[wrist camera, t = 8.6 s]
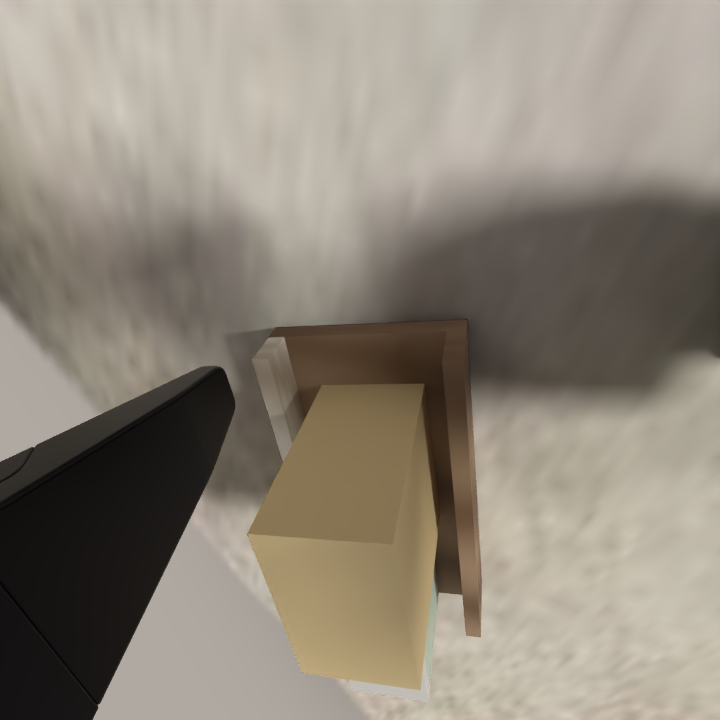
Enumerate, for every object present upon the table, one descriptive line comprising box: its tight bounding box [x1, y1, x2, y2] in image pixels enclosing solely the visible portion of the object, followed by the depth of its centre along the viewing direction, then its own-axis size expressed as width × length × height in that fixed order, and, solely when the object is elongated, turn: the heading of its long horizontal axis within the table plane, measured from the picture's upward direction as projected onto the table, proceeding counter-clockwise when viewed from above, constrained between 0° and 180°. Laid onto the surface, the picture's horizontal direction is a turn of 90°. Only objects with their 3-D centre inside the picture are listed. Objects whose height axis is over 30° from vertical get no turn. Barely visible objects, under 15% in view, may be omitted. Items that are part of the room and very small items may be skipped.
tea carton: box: [247, 384, 440, 690], centre depth 22 cm, size 8×5×9 cm, turn 9°
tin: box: [349, 564, 439, 702], centre depth 28 cm, size 4×4×6 cm
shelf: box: [252, 320, 482, 637], centre depth 26 cm, size 18×9×4 cm, turn 9°
